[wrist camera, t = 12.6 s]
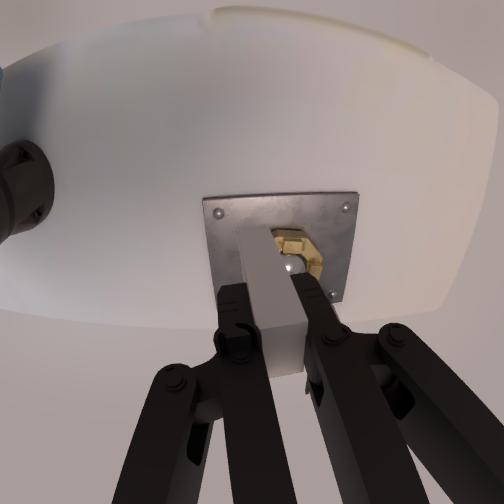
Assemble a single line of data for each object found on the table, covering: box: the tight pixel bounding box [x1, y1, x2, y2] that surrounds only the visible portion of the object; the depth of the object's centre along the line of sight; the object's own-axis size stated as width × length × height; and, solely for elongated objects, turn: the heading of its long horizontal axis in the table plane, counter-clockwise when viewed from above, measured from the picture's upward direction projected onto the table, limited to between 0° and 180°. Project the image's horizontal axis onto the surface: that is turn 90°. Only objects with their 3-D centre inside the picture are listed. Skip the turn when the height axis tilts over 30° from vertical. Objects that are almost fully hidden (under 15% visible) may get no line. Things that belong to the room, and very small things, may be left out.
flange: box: [203, 192, 360, 311], centre depth 40 cm, size 22×22×4 cm
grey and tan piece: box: [271, 229, 341, 323], centre depth 35 cm, size 19×10×17 cm, turn 40°
